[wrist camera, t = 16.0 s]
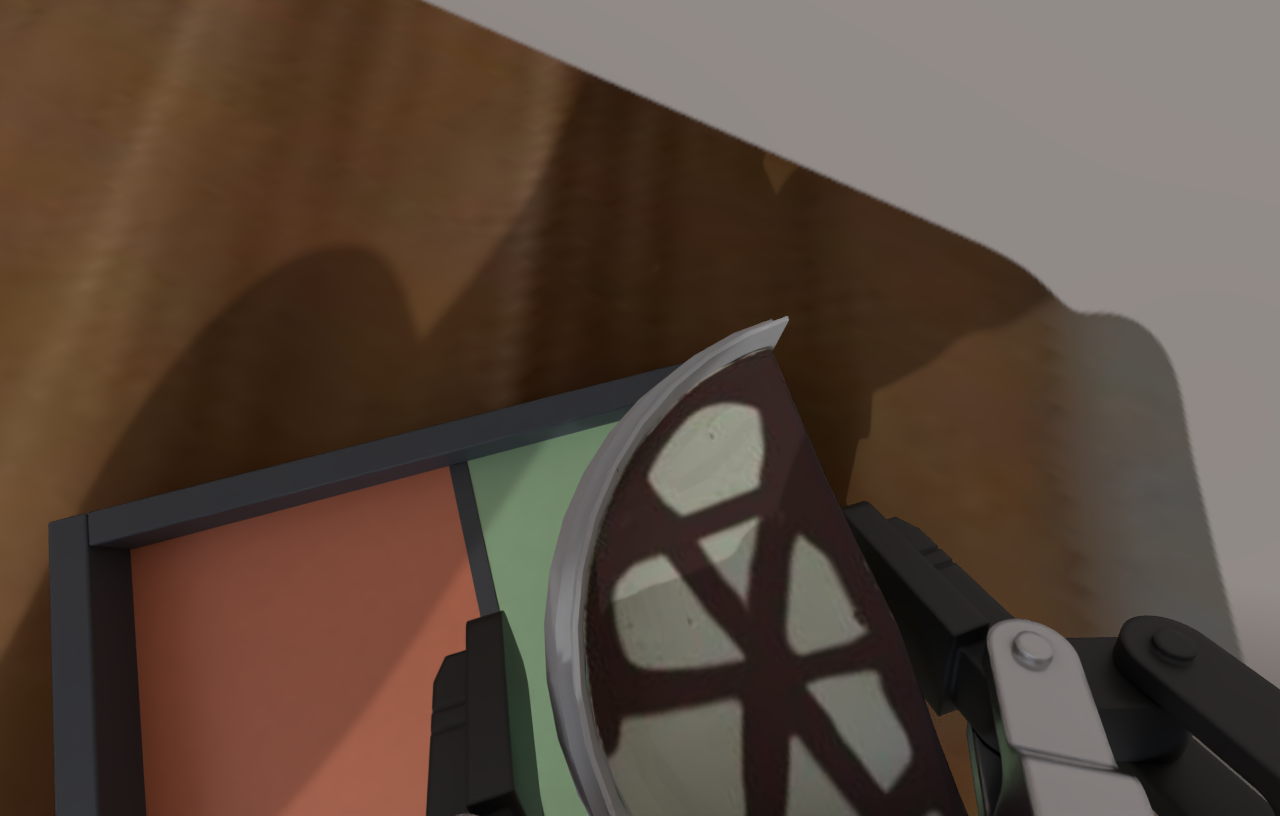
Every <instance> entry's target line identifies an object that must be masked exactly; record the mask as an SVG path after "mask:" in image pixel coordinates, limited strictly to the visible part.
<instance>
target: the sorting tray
mask: <svg viewBox="0 0 1280 816" xmlns="http://www.w3.org/2000/svg"><path fill="white" fill-rule="evenodd" d="M682 364H684V363H681V364H677V365H673V366H669V367H665V368H661V369H657V370H653V371H649V372H645V373H641V374H637V375H633V376H629V377H625V378H621V379H617V380H613V381H609V382H605V383H601V384H597V385H593V386H589V387H585V388H581V389H577V390H573V391H569V392H565V393H561V394H558V395H554V396H550V397H546V398H542V399H538V400H534V401H530V402H526V403H522V404H518V405H514V406H510V407H506V408H502V409H498V410H494V411H490V412H486V413H482V414H478V415H474V416H470V417H466V418H462V419H458V420H454V421H450V422H446V423H442V424H438V425H435V426H431V427H427V428H423V429H419V430H415V431H411V432H407V433H403V434H399V435H395V436H391V437H387V438H383V439H379V440H375V441H371V442H367V443H363V444H359V445H355V446H351V447H347V448H343V449H339V450H335V451H331V452H327V453H323V454H319V455H315V456H311V457H308V458H304V459H300V460H296V461H292V462H288V463H284V464H280V465H276V466H272V467H268V468H264V469H260V470H256V471H252V472H248V473H244V474H240V475H236V476H232V477H228V478H224V479H220V480H216V481H212V482H208V483H204V484H200V485H196V486H192V487H188V488H184V489H181V490H177V491H173V492H169V493H165V494H161V495H157V496H153V497H149V498H145V499H141V500H137V501H133V502H129V503H125V504H121V505H117V506H113V507H109V508H105V509H101V510H97V511H93V512H90V513H89V514H86V513H84V514H80V515H77V516H73V517H69V518H65V519H61V520H57V521H53V522H50V523H49V524H48V530H49V571H50V612H51V653H52V694H53V735H54V776H55V816H426V804H427V786H428V768H429V750H430V736H431V714H433V711H432V696H433V682H434V680H435V677H436V675H437V673H438V671H439V669H440V667H441V664H442V662H443V660H444V658H445V656H448V655H451V654H454V653H457V652H461V651H464V650H466V623H467V621H469V620H472V619H476V618H479V617H482V616H485V615H489V614H492V613H495V612H498V611H502V610H503V611H504V612H505V614H506V616H507V619H508V621H509V624H510V627H511V629H512V632H513V635H514V637H515V640H516V643H517V645H518V648H519V651H520V653H521V656H522V659H523V662H524V666H525V670H526V675H527V680H528V686H529V694H530V704H531V713H532V722H533V732H534V741H535V750H536V759H537V769H538V778H539V787H540V796H541V806H542V815H543V816H589V815H588V813H587V811H586V809H585V807H584V806H583V804H582V802H581V800H580V798H579V796H578V794H577V791H576V788H575V785H574V783H573V780H572V777H571V774H570V771H569V768H568V766H567V763H566V760H565V757H564V754H563V752H562V749H561V746H560V743H559V740H558V737H557V732H556V727H555V722H554V716H553V711H552V706H551V701H550V696H549V691H548V685H547V680H546V658H545V634H544V619H545V610H546V600H547V591H548V582H549V573H550V567H551V563H552V559H553V555H554V552H555V548H556V544H557V540H558V537H559V533H560V529H561V525H562V522H563V518H564V516H565V514H566V511H567V509H568V507H569V504H570V502H571V500H572V498H573V495H574V493H575V491H576V488H577V486H578V484H579V482H580V479H581V477H582V475H583V473H584V471H585V470H586V468H587V466H588V465H589V463H590V462H591V460H592V459H593V457H594V456H595V454H596V452H597V451H598V449H599V448H600V446H601V445H602V443H603V442H604V440H605V438H606V437H607V435H608V434H609V432H610V431H611V430H612V429H613V428H614V427H615V426H616V425H617V423H618V422H619V421H620V420H621V419H622V418H623V417H624V416H625V415H626V413H627V412H628V411H629V410H630V409H631V408H632V407H633V406H634V404H635V403H636V402H637V401H638V400H639V399H640V398H641V397H642V396H644V395H645V394H646V393H647V392H649V391H650V390H651V389H652V388H654V387H655V386H656V385H657V384H658V383H660V382H661V381H662V380H663V379H665V378H666V377H667V376H668V375H670V374H671V373H672V372H673V371H675V370H676V369H677V368H678V367H680V366H681V365H682Z"/></svg>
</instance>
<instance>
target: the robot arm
mask: <svg viewBox="0 0 1280 816" xmlns="http://www.w3.org/2000/svg"><path fill="white" fill-rule="evenodd" d="M841 510H842V512H843V515H844V517H845V519H846V521H847V523H848V525H849V527H850V529H851V531H852V534H853V536H854V538H855V540H856V542H857V544H858V546H859V548H860V550H861V552H862V554H863V556H864V558H865V560H866V562H867V564H868V565H869V567H870V569H871V571H872V573H873V575H874V577H875V579H876V582H877V584H878V586H879V588H880V590H881V592H882V594H883V596H884V598H885V600H886V602H887V604H888V607H889V609H890V611H891V613H892V615H893V617H894V619H895V621H896V623H897V626H898V628H899V631H900V633H901V636H902V638H903V641H904V644H905V647H906V650H907V652H908V655H909V658H910V660H911V663H912V666H913V668H914V671H915V674H916V676H917V679H918V682H919V685H920V687H921V690H922V693H923V696H924V698H925V699H926V701H927V702H928V703H929V704H930V706H931V707H932V708H933V710H934V711H935V712H936V713H937V715H938V716H941V715H944V714H946V713H949V712H952V711H954V710H957V709H958V710H959V711H960V712H961V714H962V715H963V716H964V717H965V719H966V720H967V721H968V722H967V727H966V732H967V740H968V747H969V753H970V760H971V767H972V774H973V781H974V787H975V794H976V801H977V808H978V814H979V816H1154V814H1153V811H1152V809H1153V810H1154V811H1155V812H1156V813H1157V814H1158V815H1159V816H1280V689H1278V688H1277V687H1276V686H1274V685H1273V684H1271V683H1270V682H1269V681H1267V680H1266V679H1264V678H1263V677H1262V676H1260V675H1259V674H1257V673H1256V672H1255V671H1253V670H1252V669H1250V668H1249V667H1248V666H1246V665H1245V664H1243V663H1242V662H1241V661H1239V660H1238V659H1236V658H1235V657H1234V656H1232V655H1231V654H1229V653H1228V652H1227V651H1225V650H1224V649H1222V648H1221V647H1220V646H1218V645H1217V644H1215V643H1214V642H1213V641H1211V640H1210V639H1208V638H1207V637H1206V636H1204V635H1203V634H1201V633H1200V632H1198V631H1196V630H1195V629H1193V628H1191V627H1189V626H1187V625H1185V624H1182V623H1180V622H1177V621H1174V620H1171V619H1168V618H1163V617H1158V616H1137V617H1134V618H1131V619H1129V620H1127V621H1126V622H1125V623H1124V624H1123V626H1122V628H1121V630H1120V633H1119V635H1118V637H1099V638H1064V637H1063V636H1061V635H1060V634H1059V633H1057V632H1056V631H1054V630H1052V629H1050V628H1049V627H1047V626H1044V625H1042V624H1040V623H1037V622H1033V621H1029V620H1024V619H1015V618H1014V617H1013V616H1012V615H1011V614H1009V613H1008V612H1007V611H1006V610H1005V609H1004V608H1003V607H1002V606H1001V605H1000V604H999V603H998V602H997V601H996V600H995V599H993V598H992V597H991V596H990V595H989V594H988V593H987V592H986V591H985V590H984V589H983V588H982V587H981V586H980V585H979V584H978V583H976V582H975V581H974V580H973V579H972V578H971V577H970V576H969V575H968V574H967V573H966V572H965V571H964V570H963V569H962V568H961V567H959V566H958V565H957V564H956V563H953V562H952V559H951V558H950V557H949V556H948V555H947V554H946V553H945V552H943V551H942V550H941V549H938V547H937V545H936V544H935V543H934V542H933V541H932V540H931V539H930V538H929V537H928V536H926V535H925V534H924V533H923V532H922V531H921V530H920V529H919V528H917V527H915V526H913V525H911V524H909V523H907V522H905V521H903V520H901V519H899V518H897V517H893V518H890V519H886V518H885V517H884V516H882V515H881V514H880V513H879V512H878V511H877V510H876V509H875V508H874V507H873V506H872V505H871V504H870V503H868V502H866V501H863V502H860V503H856V504H853V505H850V506H846V507H843V508H841ZM432 711H433V714H431V736H430V750H429V768H428V786H427V804H426V816H543V815H542V806H541V796H540V787H539V778H538V769H537V759H536V750H535V741H534V732H533V722H532V713H531V704H530V694H529V686H528V680H527V675H526V670H525V666H524V662H523V659H522V656H521V653H520V651H519V648H518V645H517V643H516V640H515V637H514V635H513V632H512V629H511V627H510V624H509V621H508V619H507V616H506V614H505V612H504V611H503V610H502V611H498V612H495V613H492V614H489V615H485V616H482V617H479V618H476V619H472V620H469V621H467V623H466V650H464V651H461V652H457V653H454V654H451V655H448V656H445V658H444V660H443V662H442V664H441V667H440V669H439V671H438V673H437V675H436V677H435V680H434V682H433V696H432ZM1193 735H1194V736H1195V737H1196V738H1198V739H1199V740H1200V741H1201V742H1202V743H1203V744H1205V745H1206V746H1207V747H1208V748H1209V749H1210V750H1211V751H1213V752H1214V753H1215V754H1216V755H1217V756H1218V757H1220V758H1221V759H1222V760H1223V761H1224V762H1225V763H1227V764H1228V765H1229V766H1230V767H1231V768H1232V769H1234V770H1235V771H1236V772H1237V773H1238V774H1239V775H1241V776H1242V777H1243V778H1244V779H1245V780H1246V781H1248V782H1249V783H1250V784H1251V785H1252V786H1253V787H1254V788H1256V789H1257V790H1258V791H1259V792H1260V793H1261V794H1262V795H1263V796H1264V798H1265V799H1266V800H1267V802H1266V801H1265V800H1264V799H1263V798H1262V797H1261V796H1259V795H1258V794H1257V793H1256V792H1255V791H1254V790H1252V789H1251V788H1250V787H1249V786H1248V785H1247V784H1246V783H1244V782H1243V781H1242V780H1241V779H1240V778H1239V777H1237V776H1236V775H1235V774H1234V773H1233V772H1232V771H1231V770H1229V769H1228V768H1227V767H1226V766H1225V765H1224V764H1222V763H1221V762H1220V761H1219V760H1218V759H1217V758H1215V757H1214V756H1213V755H1212V754H1211V753H1210V752H1209V751H1207V750H1206V749H1205V748H1204V747H1203V746H1202V745H1200V744H1199V743H1198V742H1197V741H1196V740H1195V739H1194V738H1192V736H1193Z"/></svg>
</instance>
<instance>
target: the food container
mask: <svg viewBox="0 0 1280 816" xmlns="http://www.w3.org/2000/svg"><path fill="white" fill-rule="evenodd" d="M788 321H789V318H788V316H786V317H783V318H781V319H778V320H775V321H773V320H772V319H770V320H768V321H765V322H762V323H760V324H757V325H754V326H752V327H749V328H746V329H744V330H741V331H738V332H736V333H733V334H731V335H730V336H728V337H726V338H724V339H722V340H721V341H719V342H717V343H715V344H714V345H712V346H710V347H708V348H707V349H705V350H703V351H701V352H700V353H698V354H696V355H694V356H693V357H691V358H690V359H689V360H688V361H686V362H685V363H684V364H682V365H681V366H680V367H678V368H677V369H676V370H675V371H673V372H672V373H671V374H670V375H668V376H667V377H666V378H665V379H663V380H662V381H661V382H660V383H658V384H657V385H656V386H655V387H654V388H652V389H651V390H650V391H649V392H647V393H646V394H645V395H644V396H642V397H641V398H640V399H639V400H638V401H637V402H636V403H635V404H634V406H633V407H632V408H631V409H630V410H629V411H628V412H627V413H626V415H625V416H624V417H623V418H622V419H621V420H620V421H619V422H618V423H617V425H616V426H615V427H614V428H613V429H612V430H611V431H610V432H609V434H608V435H607V437H606V438H605V440H604V442H603V443H602V445H601V446H600V448H599V449H598V451H597V452H596V454H595V456H594V457H593V459H592V460H591V462H590V463H589V465H588V466H587V468H586V470H585V471H584V473H583V475H582V477H581V479H580V482H579V484H578V486H577V488H576V491H575V493H574V495H573V498H572V500H571V502H570V504H569V507H568V509H567V511H566V514H565V516H564V518H563V522H562V525H561V529H560V533H559V537H558V540H557V544H556V548H555V552H554V555H553V559H552V563H551V567H550V573H549V582H548V591H547V600H546V610H545V619H544V634H545V658H546V680H547V685H548V691H549V696H550V701H551V706H552V711H553V716H554V722H555V727H556V732H557V737H558V740H559V743H560V746H561V749H562V752H563V754H564V757H565V760H566V763H567V766H568V768H569V771H570V774H571V777H572V780H573V783H574V785H575V788H576V791H577V794H578V796H579V798H580V800H581V802H582V804H583V806H584V807H585V809H586V811H587V813H588V815H589V816H968V814H967V811H966V809H965V806H964V804H963V802H962V799H961V797H960V794H959V792H958V789H957V787H956V784H955V781H954V779H953V776H952V773H951V771H950V768H949V766H948V763H947V760H946V758H945V755H944V752H943V750H942V747H941V745H940V742H939V739H938V737H937V734H936V731H935V728H934V725H933V722H932V719H931V716H930V713H929V711H928V708H927V705H926V702H925V699H924V696H923V693H922V690H921V687H920V685H919V682H918V679H917V676H916V674H915V671H914V668H913V666H912V663H911V660H910V658H909V655H908V652H907V650H906V647H905V644H904V641H903V638H902V636H901V633H900V631H899V628H898V626H897V623H896V621H895V619H894V617H893V615H892V613H891V611H890V609H889V607H888V604H887V602H886V600H885V598H884V596H883V594H882V592H881V590H880V588H879V586H878V584H877V582H876V579H875V577H874V575H873V573H872V571H871V569H870V567H869V565H868V564H867V562H866V560H865V558H864V556H863V554H862V552H861V550H860V548H859V546H858V544H857V542H856V540H855V538H854V536H853V534H852V531H851V529H850V527H849V525H848V523H847V521H846V519H845V517H844V515H843V512H842V510H841V508H840V506H839V504H838V502H837V500H836V498H835V495H834V493H833V491H832V489H831V487H830V485H829V483H828V481H827V478H826V476H825V473H824V471H823V469H822V466H821V464H820V462H819V459H818V457H817V455H816V452H815V450H814V448H813V445H812V443H811V441H810V438H809V436H808V433H807V431H806V429H805V426H804V424H803V422H802V419H801V417H800V415H799V412H798V410H797V408H796V405H795V403H794V400H793V398H792V396H791V393H790V391H789V389H788V386H787V384H786V381H785V379H784V377H783V374H782V372H781V370H780V367H779V365H778V363H777V360H776V358H775V355H774V353H773V349H774V347H775V346H776V344H777V342H778V340H779V338H780V336H781V334H782V332H783V330H784V328H785V327H786V325H787V323H788Z"/></svg>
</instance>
